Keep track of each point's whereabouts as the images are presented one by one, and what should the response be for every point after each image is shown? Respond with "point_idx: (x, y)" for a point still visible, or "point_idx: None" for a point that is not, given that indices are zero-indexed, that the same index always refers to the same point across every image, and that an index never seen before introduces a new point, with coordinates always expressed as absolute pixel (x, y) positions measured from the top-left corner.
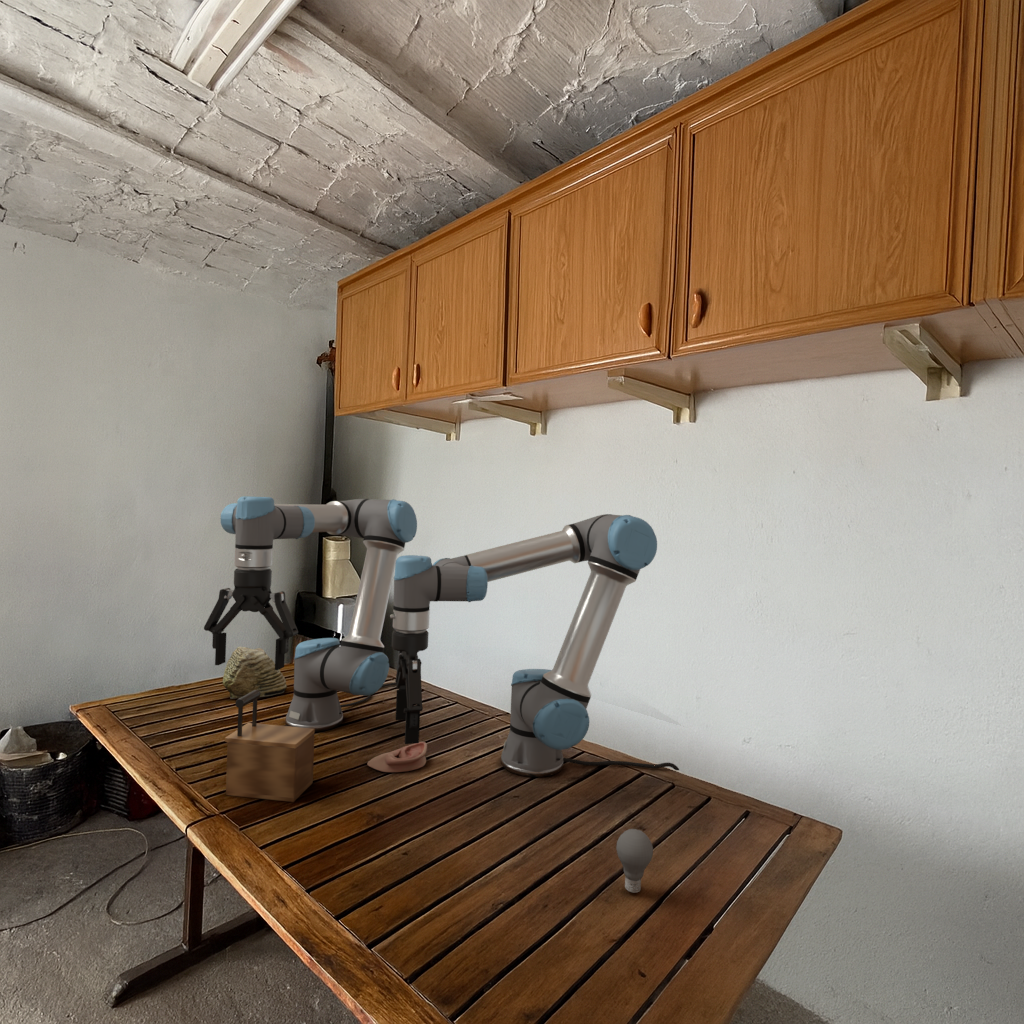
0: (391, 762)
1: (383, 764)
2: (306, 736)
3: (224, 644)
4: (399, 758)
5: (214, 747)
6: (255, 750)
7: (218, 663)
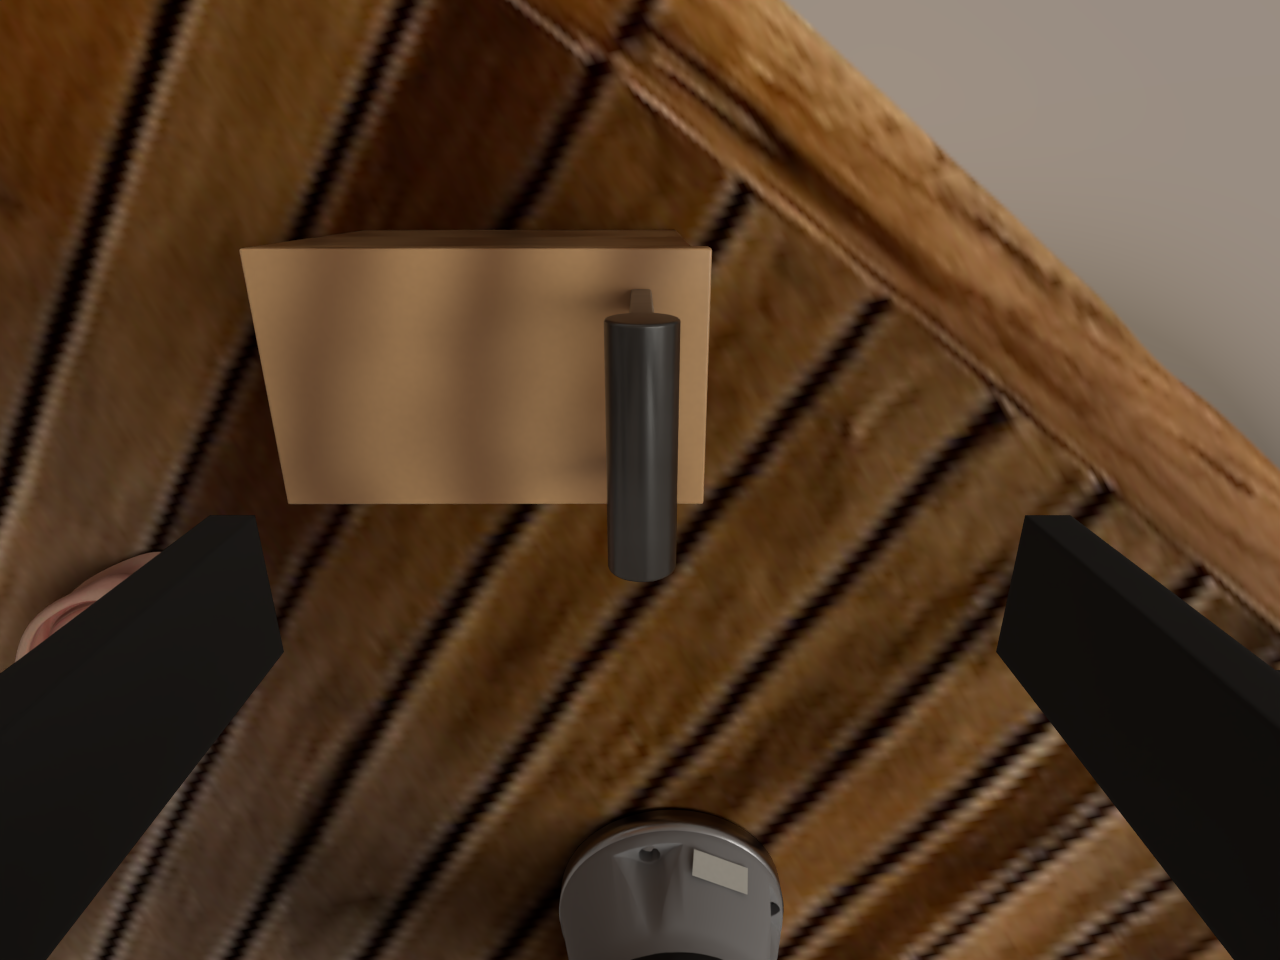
0: (112, 576)
1: None
2: (270, 396)
3: (1150, 799)
4: None
5: (946, 624)
6: (512, 243)
7: (1036, 530)
